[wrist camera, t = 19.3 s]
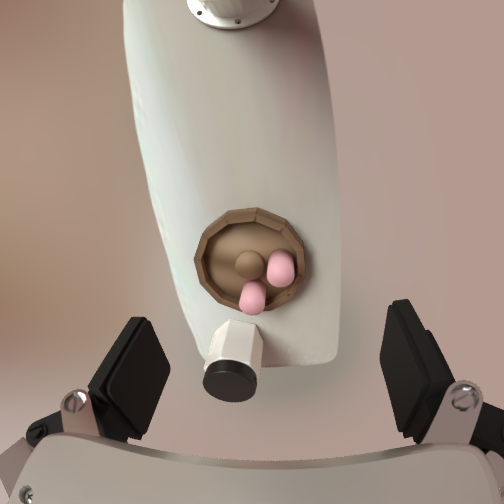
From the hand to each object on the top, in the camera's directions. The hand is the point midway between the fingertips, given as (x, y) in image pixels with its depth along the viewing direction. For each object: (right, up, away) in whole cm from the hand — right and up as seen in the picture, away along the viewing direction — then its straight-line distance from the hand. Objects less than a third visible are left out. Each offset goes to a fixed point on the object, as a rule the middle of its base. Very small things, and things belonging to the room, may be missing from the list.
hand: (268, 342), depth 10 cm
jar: (-3, -12, +40) cm, 42 cm away
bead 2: (+4, +2, +31) cm, 31 cm away
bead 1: (0, -2, +34) cm, 34 cm away
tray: (-1, +2, +33) cm, 33 cm away
